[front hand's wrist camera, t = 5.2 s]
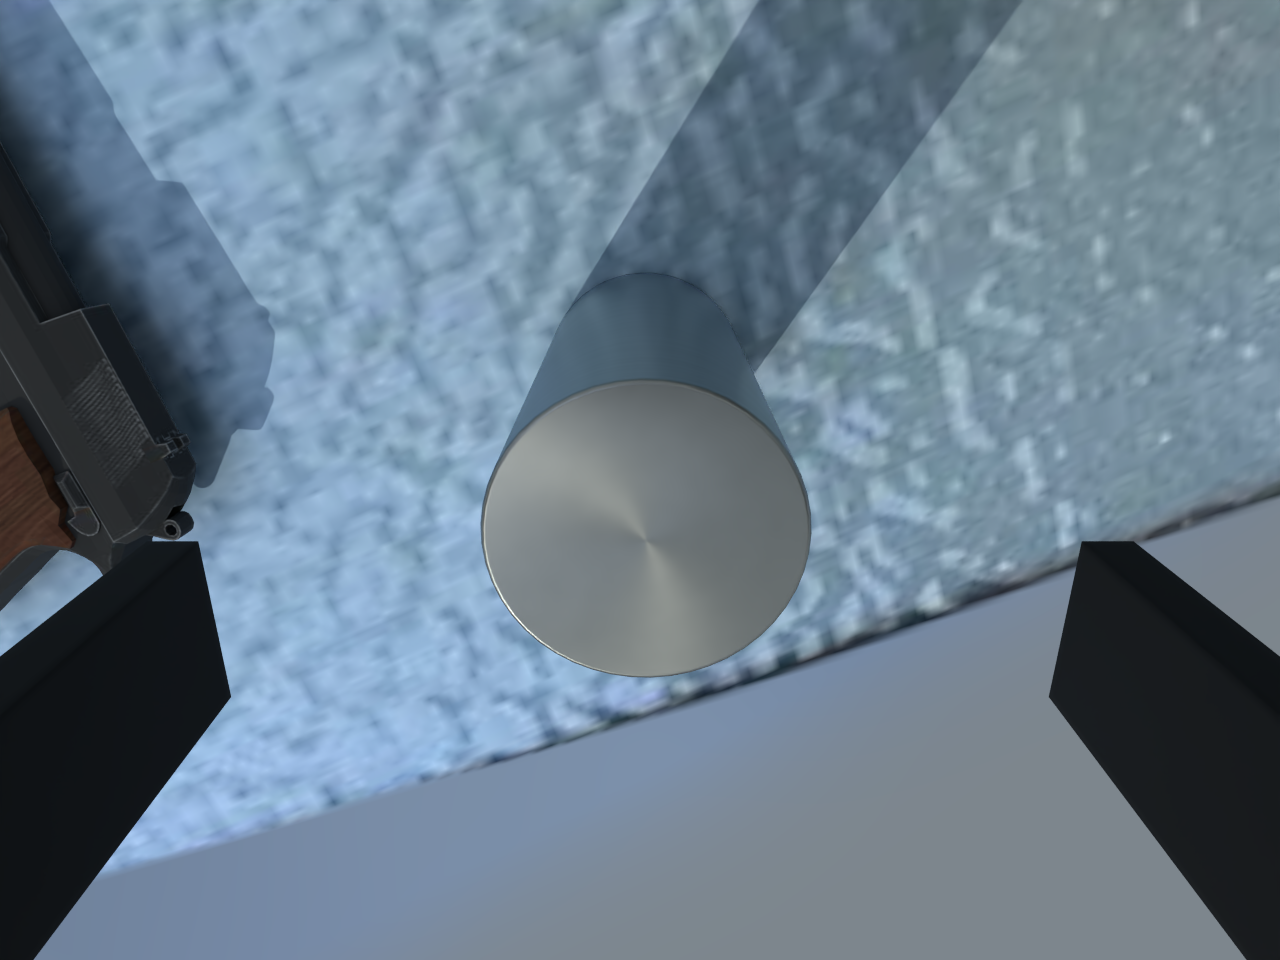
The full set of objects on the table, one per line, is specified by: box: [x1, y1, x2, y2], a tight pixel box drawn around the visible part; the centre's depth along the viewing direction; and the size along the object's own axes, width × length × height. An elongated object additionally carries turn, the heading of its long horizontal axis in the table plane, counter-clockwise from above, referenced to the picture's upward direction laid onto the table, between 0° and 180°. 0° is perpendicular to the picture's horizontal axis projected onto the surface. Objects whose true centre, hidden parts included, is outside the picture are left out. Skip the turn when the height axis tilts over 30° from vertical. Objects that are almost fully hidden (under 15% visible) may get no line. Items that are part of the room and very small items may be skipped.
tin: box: [481, 273, 811, 677], centre depth 20 cm, size 6×6×12 cm
